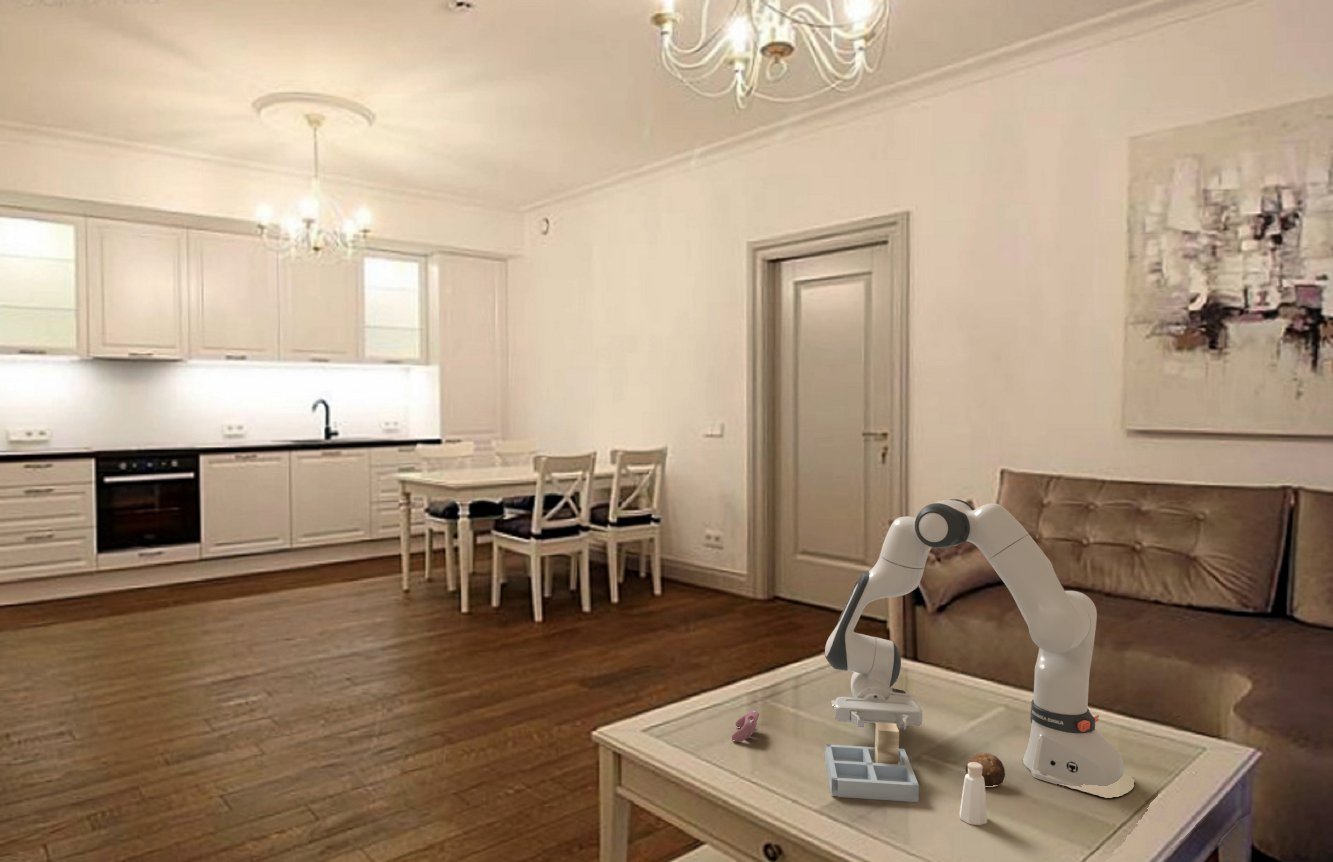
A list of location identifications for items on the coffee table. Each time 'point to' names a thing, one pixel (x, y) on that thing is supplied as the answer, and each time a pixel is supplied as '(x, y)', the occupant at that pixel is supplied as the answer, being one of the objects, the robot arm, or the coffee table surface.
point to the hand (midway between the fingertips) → (881, 724)
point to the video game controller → (746, 726)
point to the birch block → (886, 743)
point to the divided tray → (869, 774)
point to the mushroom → (989, 768)
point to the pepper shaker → (974, 796)
